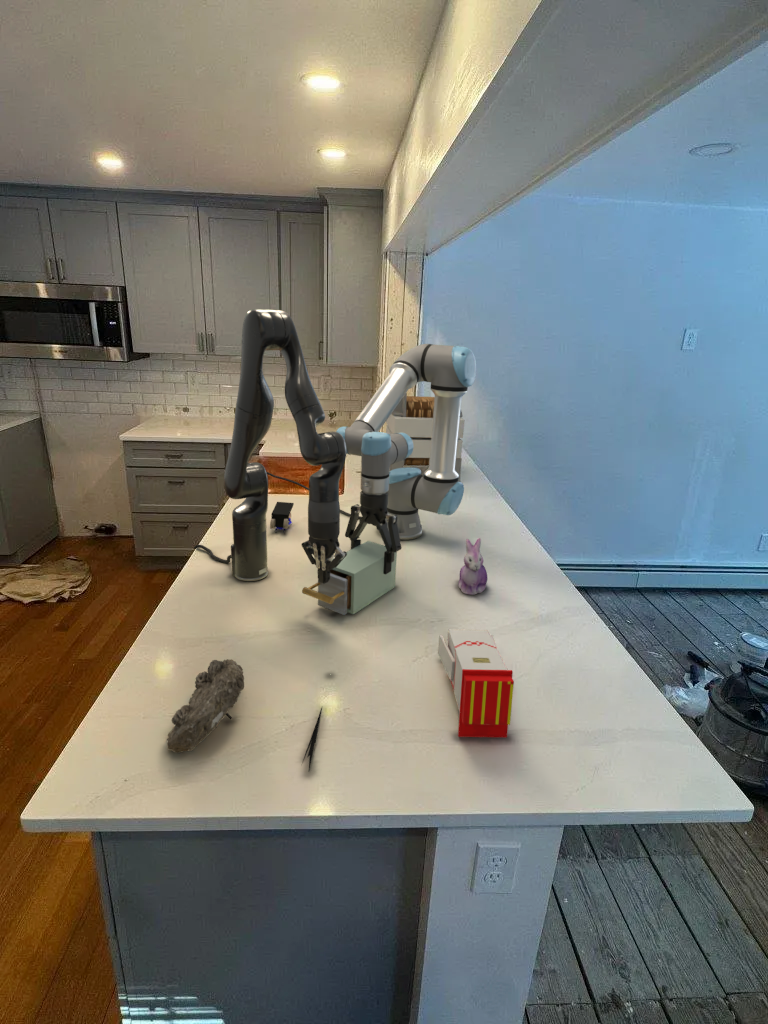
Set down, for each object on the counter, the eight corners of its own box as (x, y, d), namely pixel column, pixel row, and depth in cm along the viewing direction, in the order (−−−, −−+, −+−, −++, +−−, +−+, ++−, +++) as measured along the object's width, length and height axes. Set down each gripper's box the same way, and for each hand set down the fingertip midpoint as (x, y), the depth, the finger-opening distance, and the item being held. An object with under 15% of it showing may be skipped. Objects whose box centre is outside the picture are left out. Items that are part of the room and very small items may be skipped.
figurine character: (289, 539, 194) (294, 519, 208) (288, 519, 191) (294, 500, 204) (269, 538, 194) (276, 518, 208) (268, 518, 191) (275, 499, 204)
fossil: (192, 660, 117) (244, 628, 112) (224, 691, 120) (276, 661, 115) (142, 746, 98) (202, 712, 93) (182, 779, 101) (242, 748, 96)
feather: (331, 679, 122) (336, 673, 122) (307, 777, 96) (313, 769, 95) (324, 675, 122) (329, 669, 121) (298, 772, 95) (304, 764, 95)
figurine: (469, 599, 156) (474, 549, 151) (448, 583, 165) (453, 535, 160) (496, 592, 161) (502, 544, 156) (475, 577, 169) (480, 531, 164)
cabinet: (353, 614, 146) (354, 573, 142) (323, 602, 151) (323, 563, 147) (394, 586, 162) (396, 549, 158) (366, 577, 167) (368, 540, 163)
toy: (488, 613, 130) (523, 677, 101) (484, 667, 133) (517, 744, 104) (435, 612, 130) (455, 676, 101) (432, 666, 133) (451, 743, 103)
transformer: (382, 463, 289) (386, 382, 275) (445, 464, 293) (451, 384, 279) (390, 482, 257) (394, 392, 243) (460, 483, 261) (468, 394, 247)
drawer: (329, 625, 139) (329, 589, 136) (302, 613, 144) (301, 579, 140) (385, 589, 158) (386, 557, 155) (359, 579, 163) (360, 548, 159)
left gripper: (292, 514, 135) (293, 579, 141) (335, 526, 128) (335, 595, 134) (313, 506, 141) (313, 569, 147) (355, 518, 134) (354, 584, 140)
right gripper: (332, 485, 153) (331, 560, 161) (402, 503, 142) (398, 583, 149) (349, 479, 159) (347, 552, 167) (418, 496, 148) (412, 573, 155)
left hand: (323, 581), depth 140 cm, fingers closed
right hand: (371, 567), depth 158 cm, fingers closed on cabinet, 10 cm apart
